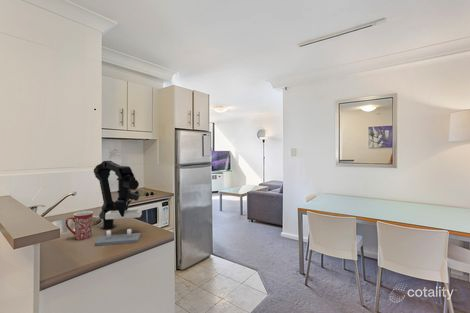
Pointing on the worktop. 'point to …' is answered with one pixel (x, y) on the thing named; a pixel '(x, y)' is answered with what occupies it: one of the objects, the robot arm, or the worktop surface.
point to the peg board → (118, 238)
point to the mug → (81, 224)
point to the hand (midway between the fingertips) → (124, 214)
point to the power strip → (124, 214)
